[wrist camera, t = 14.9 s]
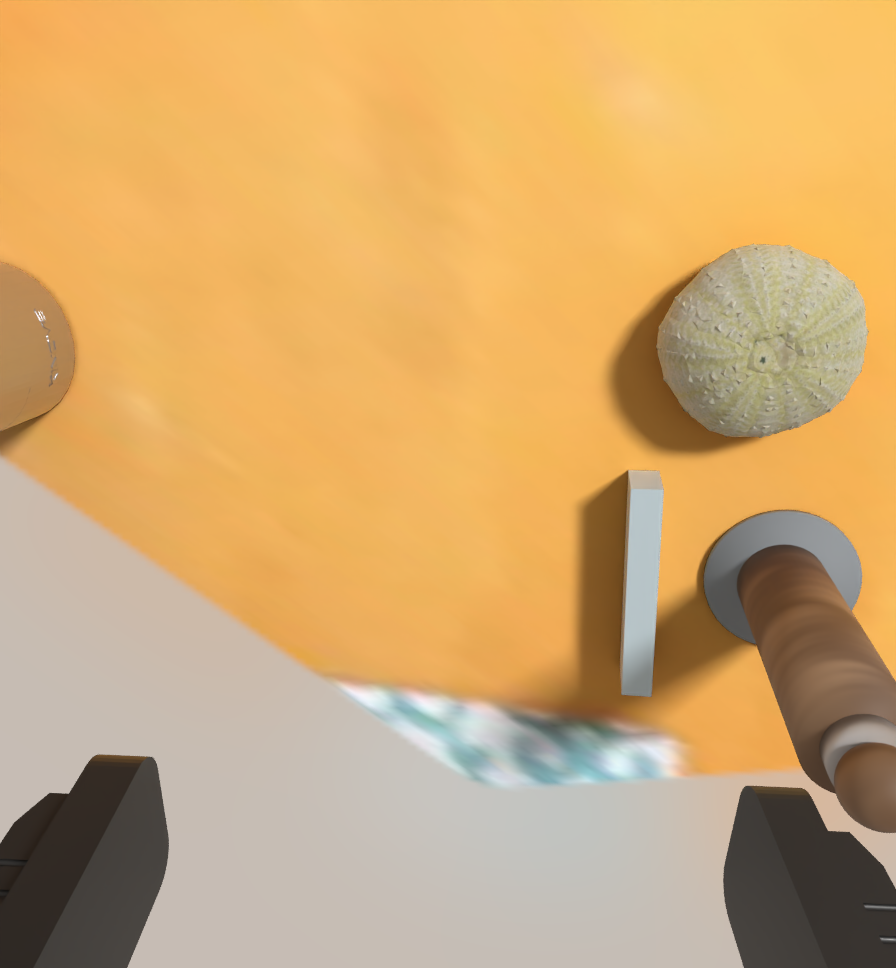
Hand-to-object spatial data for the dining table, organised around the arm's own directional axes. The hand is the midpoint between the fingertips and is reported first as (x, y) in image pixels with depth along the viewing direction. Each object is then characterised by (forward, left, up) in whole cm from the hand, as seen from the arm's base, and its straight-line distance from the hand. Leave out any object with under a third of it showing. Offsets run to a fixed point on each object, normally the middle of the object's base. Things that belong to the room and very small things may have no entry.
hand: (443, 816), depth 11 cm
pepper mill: (+12, -12, -33) cm, 37 cm away
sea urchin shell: (+10, +1, -34) cm, 35 cm away
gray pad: (+12, -12, -34) cm, 38 cm away
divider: (+5, -12, -34) cm, 36 cm away
